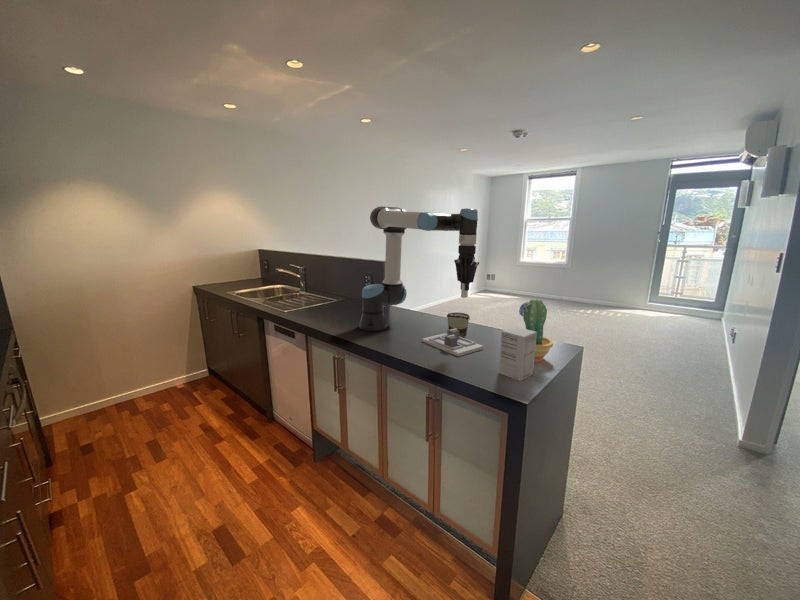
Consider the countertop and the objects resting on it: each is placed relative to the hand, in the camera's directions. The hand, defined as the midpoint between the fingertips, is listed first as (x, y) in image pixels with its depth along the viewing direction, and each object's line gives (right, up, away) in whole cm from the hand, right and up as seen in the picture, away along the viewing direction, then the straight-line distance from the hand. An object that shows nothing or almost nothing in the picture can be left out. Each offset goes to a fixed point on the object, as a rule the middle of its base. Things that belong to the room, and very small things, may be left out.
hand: (464, 297), depth 152 cm
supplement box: (+14, -29, -26) cm, 42 cm away
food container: (+2, -19, +25) cm, 31 cm away
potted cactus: (+27, -26, -10) cm, 39 cm away
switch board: (-5, -23, +5) cm, 23 cm away
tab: (-6, -22, -1) cm, 23 cm away
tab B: (-4, -20, +9) cm, 22 cm away
